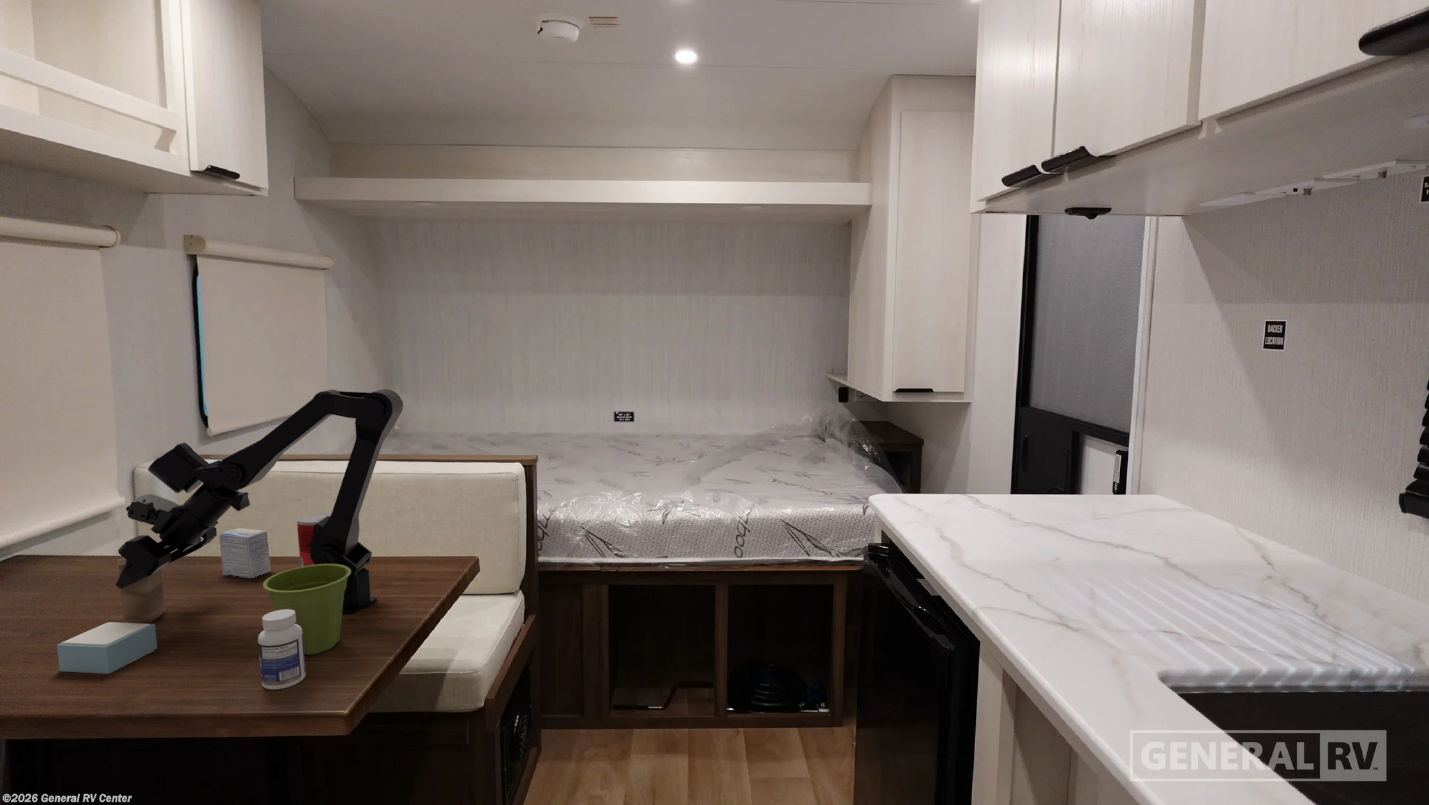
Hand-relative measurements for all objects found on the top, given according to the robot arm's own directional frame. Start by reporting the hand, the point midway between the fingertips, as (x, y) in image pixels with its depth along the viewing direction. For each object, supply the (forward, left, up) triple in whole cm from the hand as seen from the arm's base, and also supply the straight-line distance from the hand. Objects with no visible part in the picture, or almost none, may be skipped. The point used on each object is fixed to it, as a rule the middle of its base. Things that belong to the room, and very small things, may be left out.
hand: (136, 577), depth 125 cm
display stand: (-12, +13, -7) cm, 19 cm away
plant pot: (-38, +1, -7) cm, 38 cm away
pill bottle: (-43, +11, -7) cm, 45 cm away
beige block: (-1, 0, -7) cm, 7 cm away
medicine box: (+2, -22, -8) cm, 24 cm away
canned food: (-11, -28, -7) cm, 31 cm away
